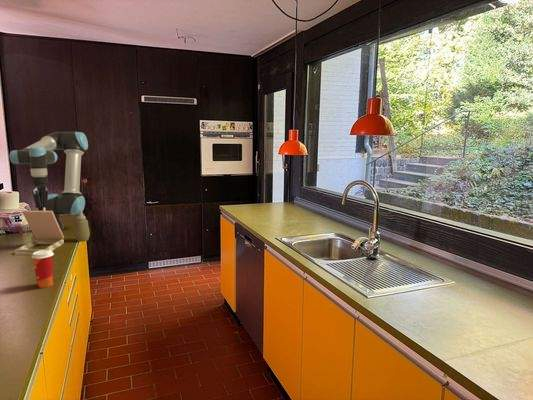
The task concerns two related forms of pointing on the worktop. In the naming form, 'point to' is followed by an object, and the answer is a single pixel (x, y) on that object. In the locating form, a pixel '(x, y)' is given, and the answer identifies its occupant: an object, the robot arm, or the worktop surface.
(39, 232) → the lid
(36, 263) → the paper cup
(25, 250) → the frame
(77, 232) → the squeeze bottle
